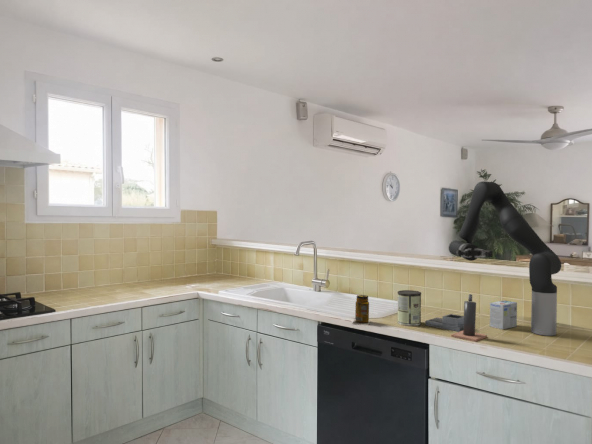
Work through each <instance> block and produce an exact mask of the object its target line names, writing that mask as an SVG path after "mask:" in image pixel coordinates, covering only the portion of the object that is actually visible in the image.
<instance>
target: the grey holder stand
mask: <svg viewBox="0 0 592 444" xmlns="http://www.w3.org/2000/svg"><path fill="white" fill-rule="evenodd" d="M424 325H425V326H428V327H433V328H437V329H442V330H447V331H451V332H455V333H457V332H460V331H463V325H464V315H459V314H453V313H450V314H449V313H448V314H446V315H443V316H441V317H434V318H429V319H427V320H424Z"/></svg>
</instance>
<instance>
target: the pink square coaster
mask: <svg viewBox="0 0 592 444" xmlns="http://www.w3.org/2000/svg"><path fill="white" fill-rule="evenodd" d="M450 336H451V337H452V338H457V339H462V340H466V341H472V342H478V341H481V340H483V339H486V338H487V337H488V335H487V334H483V333H478V332H475V336H467V335H464V334H463V331H460V332H454V333H451V335H450Z"/></svg>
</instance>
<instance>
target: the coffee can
mask: <svg viewBox="0 0 592 444" xmlns="http://www.w3.org/2000/svg"><path fill="white" fill-rule="evenodd" d="M421 308H422V292H421V291H419V290H411V289H410V290H409V289H407V290H406V289H405V290H398V291H397V324H399V325H401V326H408V327H416V326H420V325H421V324H422V323H421V321H422V320H421V319H422V316H421V315H422V314H421V313H422V312H421V311H422V309H421Z"/></svg>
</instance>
